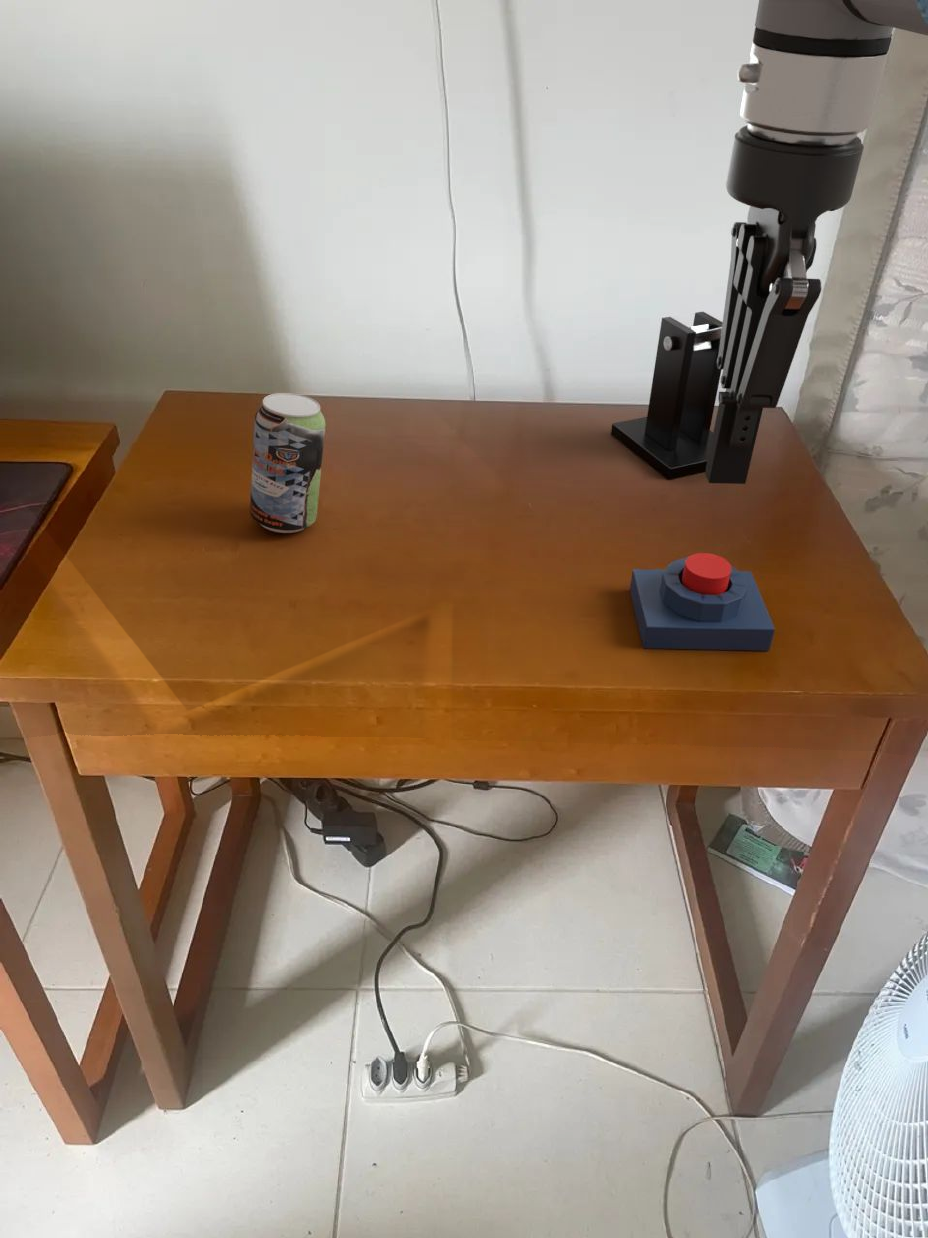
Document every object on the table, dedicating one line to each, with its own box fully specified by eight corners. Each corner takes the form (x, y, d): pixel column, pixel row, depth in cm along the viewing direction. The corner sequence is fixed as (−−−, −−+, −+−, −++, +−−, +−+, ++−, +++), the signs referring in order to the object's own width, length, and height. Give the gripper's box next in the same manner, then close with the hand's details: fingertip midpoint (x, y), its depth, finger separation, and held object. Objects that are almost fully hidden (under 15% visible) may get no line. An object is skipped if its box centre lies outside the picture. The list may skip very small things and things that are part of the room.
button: (722, 571, 80) (726, 553, 79) (731, 597, 77) (736, 578, 76) (677, 570, 80) (681, 552, 79) (686, 596, 77) (689, 577, 76)
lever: (797, 330, 88) (794, 302, 87) (752, 338, 86) (749, 309, 85) (706, 350, 100) (703, 326, 99) (665, 357, 98) (661, 332, 98)
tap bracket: (740, 463, 102) (768, 335, 94) (668, 480, 99) (691, 348, 91) (678, 420, 110) (700, 298, 102) (610, 434, 107) (626, 309, 99)
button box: (746, 592, 84) (755, 553, 81) (769, 651, 77) (780, 610, 75) (629, 589, 84) (635, 550, 81) (643, 649, 77) (650, 608, 75)
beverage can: (240, 519, 91) (224, 398, 84) (309, 496, 95) (300, 379, 87) (272, 550, 87) (259, 425, 80) (343, 524, 91) (337, 404, 83)
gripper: (715, 106, 63) (660, 436, 78) (764, 153, 53) (690, 524, 68) (830, 109, 64) (754, 438, 78) (902, 157, 53) (799, 526, 68)
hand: (725, 478), depth 73 cm, fingers closed
